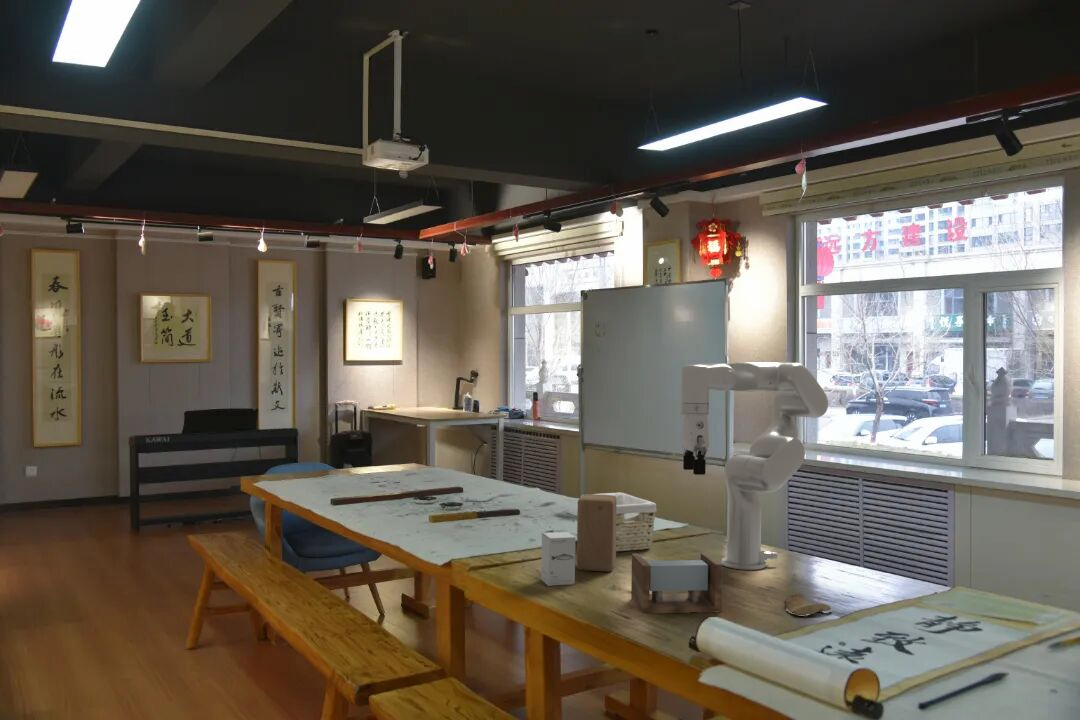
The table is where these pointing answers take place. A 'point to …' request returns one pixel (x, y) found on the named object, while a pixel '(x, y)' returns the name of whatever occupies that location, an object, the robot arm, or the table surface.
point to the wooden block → (596, 532)
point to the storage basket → (633, 522)
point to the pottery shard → (803, 605)
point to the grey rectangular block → (678, 575)
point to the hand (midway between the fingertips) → (694, 472)
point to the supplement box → (558, 558)
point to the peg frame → (676, 601)
